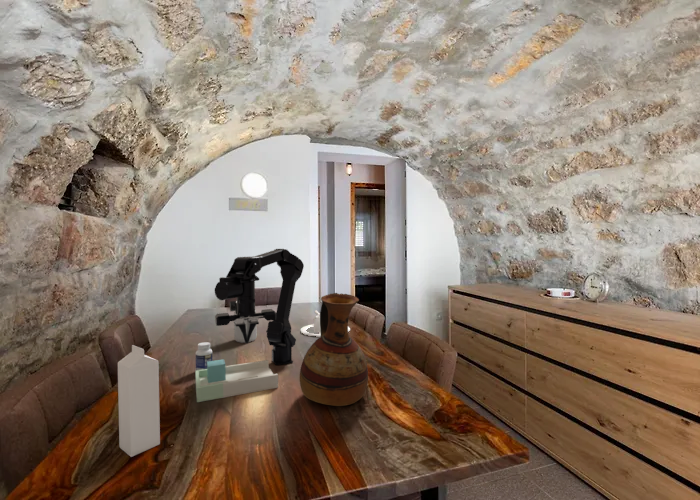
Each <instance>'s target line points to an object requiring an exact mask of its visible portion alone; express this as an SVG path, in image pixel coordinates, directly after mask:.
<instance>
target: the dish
mask: <svg viewBox="0 0 700 500" xmlns="http://www.w3.org/2000/svg"><path fill="white" fill-rule="evenodd" d="M314 313H315V314H316V316H315V317H314V318H313V324H308V325H304V326H303V327H301V328H300V333H301V334H302V333H303V334H305V335H304V336H306V335H308V336H307V337H310V336H316V337H315V338H320V336H321V328H320V312H319V311H318V310H315V311H314ZM310 327H314V332H319V334H314V333H309V332H307V331H306V330H307V329H308V328H310ZM349 331H351V328H350V326H349V325H348V332H349ZM349 333H350V332H349ZM303 334H302V335H303Z"/></svg>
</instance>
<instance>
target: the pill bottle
mask: <svg viewBox="0 0 700 500" xmlns="http://www.w3.org/2000/svg"><path fill="white" fill-rule="evenodd" d="M208 361H213V350H212V348H211V342H207V341H205V342H199V343H198V344H197V350H196V351H195V371H196V370H203V369H207V362H208Z"/></svg>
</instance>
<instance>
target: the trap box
mask: <svg viewBox="0 0 700 500" xmlns="http://www.w3.org/2000/svg"><path fill="white" fill-rule="evenodd" d="M225 368H226V380H223V381H217V382H211V383H208V378H207V369H203V370H196V369H195V371H194V372H195V392H196V403H200V402H205V401H212V400H217V399H222V398H229V397H234V396H239V395H244V394H249V393H255V392H261V391H267V390H272V389H277V388H279V374H278V373H274V372H273V371H272V369H271V368H270V366H269V359H265V360H260V361H259V360H258V361H257V360H256V361H251V362H245V363H238V364H231V365H225Z"/></svg>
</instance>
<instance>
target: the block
mask: <svg viewBox="0 0 700 500" xmlns="http://www.w3.org/2000/svg"><path fill="white" fill-rule="evenodd" d="M225 366H226V362H225V359H224V358H223V359H217V360H216V359H215V360H212V361H208V362H207V378H208V383H211V382H217V381H223V380H226V368H225Z"/></svg>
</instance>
